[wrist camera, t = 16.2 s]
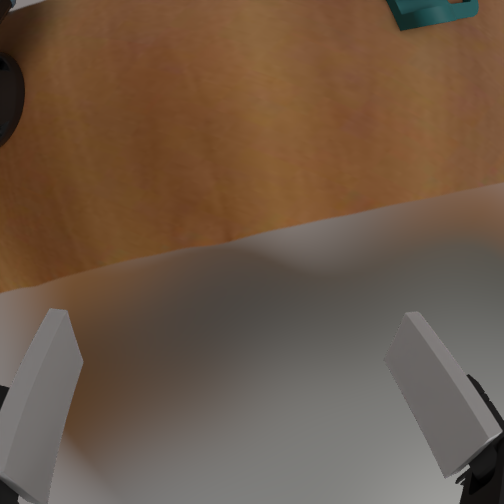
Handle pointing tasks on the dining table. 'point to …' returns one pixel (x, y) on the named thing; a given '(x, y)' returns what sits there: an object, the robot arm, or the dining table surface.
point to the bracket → (430, 12)
